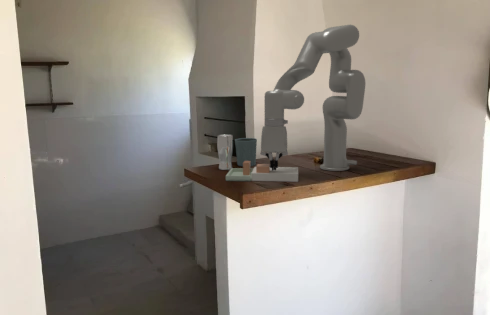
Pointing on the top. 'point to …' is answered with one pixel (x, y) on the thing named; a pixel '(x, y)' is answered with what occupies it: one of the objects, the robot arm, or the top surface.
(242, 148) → the grey cup
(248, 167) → the far tile
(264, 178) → the white slab
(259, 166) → the near tile
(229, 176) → the tray
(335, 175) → the top surface
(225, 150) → the beer glass
